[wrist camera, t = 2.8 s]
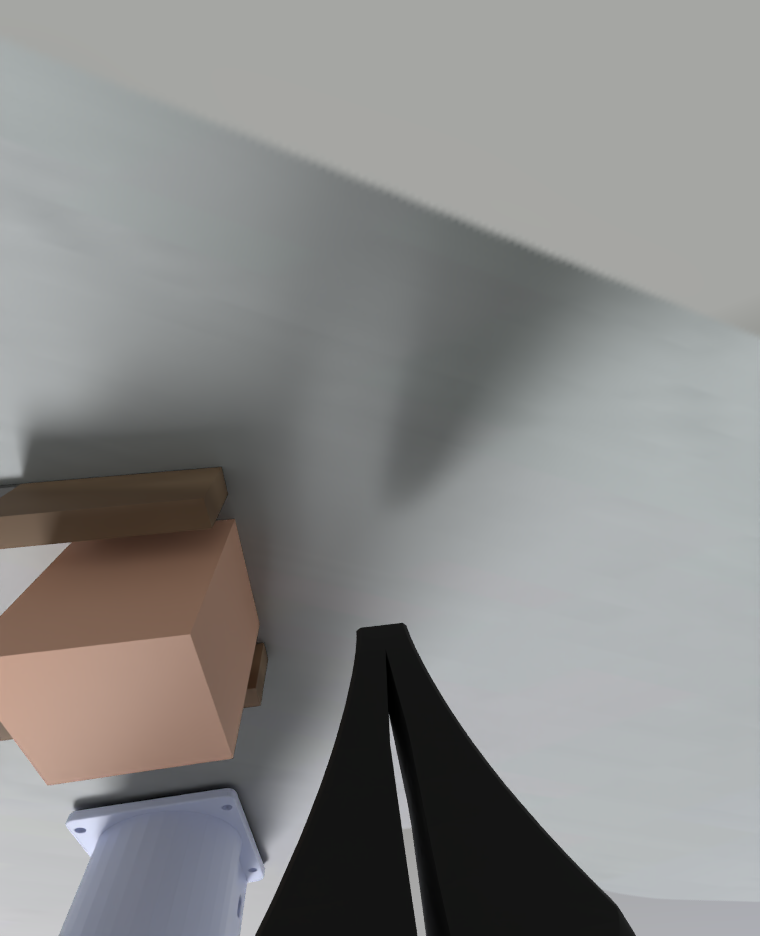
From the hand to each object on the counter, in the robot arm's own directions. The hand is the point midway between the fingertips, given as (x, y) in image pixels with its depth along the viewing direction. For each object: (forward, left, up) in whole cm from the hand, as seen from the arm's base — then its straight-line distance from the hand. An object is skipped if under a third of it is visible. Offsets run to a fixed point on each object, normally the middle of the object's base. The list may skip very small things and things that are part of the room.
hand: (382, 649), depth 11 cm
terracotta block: (0, +7, -4) cm, 8 cm away
